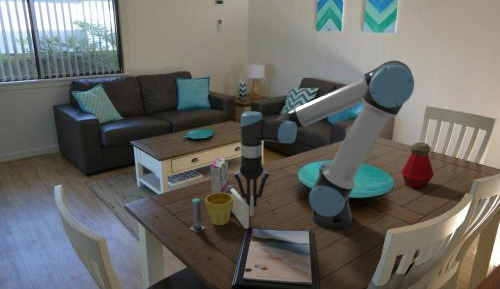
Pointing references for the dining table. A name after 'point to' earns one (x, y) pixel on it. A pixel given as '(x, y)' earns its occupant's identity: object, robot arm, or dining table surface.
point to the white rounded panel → (239, 207)
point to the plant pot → (219, 207)
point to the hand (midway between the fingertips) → (251, 213)
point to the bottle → (418, 166)
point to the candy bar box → (219, 176)
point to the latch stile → (197, 216)
